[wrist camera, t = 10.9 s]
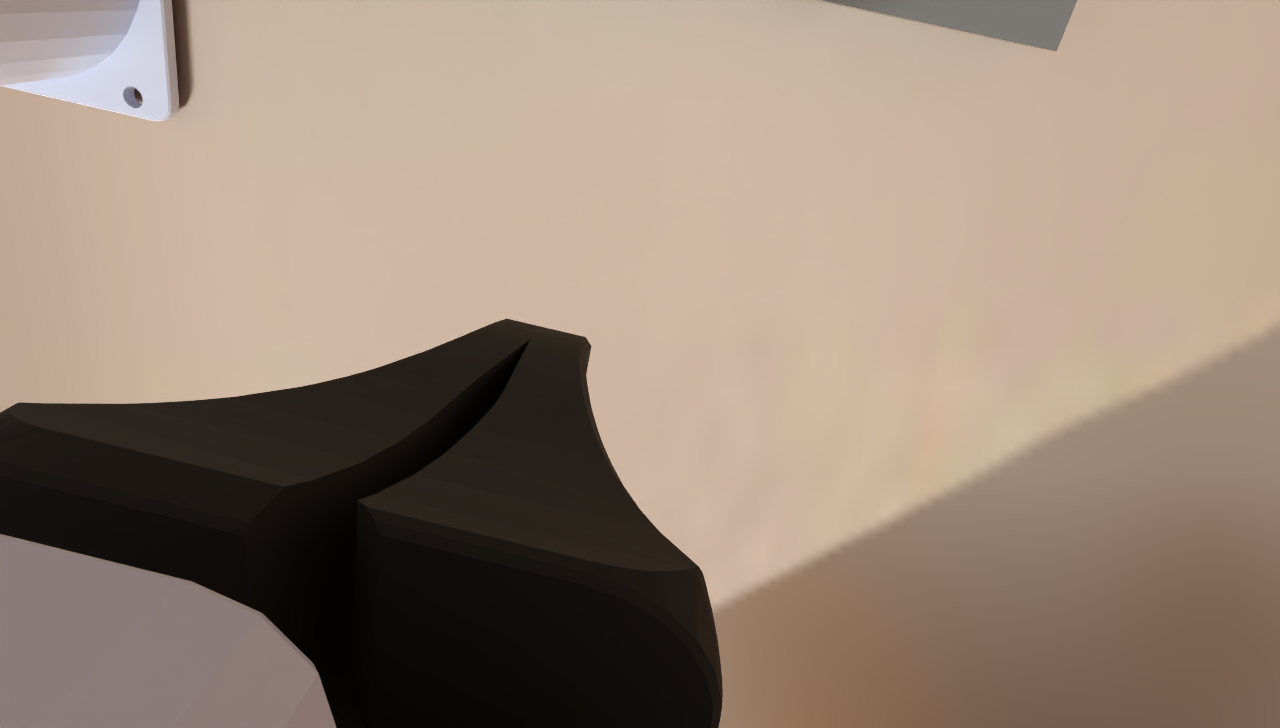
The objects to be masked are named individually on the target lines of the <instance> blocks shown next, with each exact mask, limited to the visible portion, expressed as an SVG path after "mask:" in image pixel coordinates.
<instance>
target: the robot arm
mask: <svg viewBox="0 0 1280 728" xmlns="http://www.w3.org/2000/svg"><path fill="white" fill-rule="evenodd" d="M0 86H3V87H7V88H12V89H16V90H20V91H25V92H29V93H34V94H38V95H42V96H47V97H51V98H55V99H60V100H64V101H69V102H73V103H77V104H82V105H86V106H90V107H95V108H99V109H104V110H108V111H112V112H117V113H121V114H125V115H130V116H134V117H139V118H143V119H147V120H152V121H165V120H169V119H171V118H173V117H175V116H176V114H177V113H178V110H179V94H178V81H177V67H176V53H175V39H174V25H173V12H172V0H0ZM135 88H136V89H137V90H138V91H139V92H140V93H141V95H142V98H143V102H142V104H140V103H139V102H138V101H137V100H136V98H135V95H134V90H135ZM590 350H591V345H590V343H589V342H588V340H587V339H586V337H582V336H578V335H574V334H570V333H565V332H561V331H557V330H552V329H548V328H544V327H540V326H535V325H531V324H527V323H522V322H518V321H514V320H510V319H505V320H501V321H498V322H495V323H493V324H490V325H488V326H485V327H483V328H481V329H478V330H476V331H473V332H471V333H469V334H466V335H464V336H462V337H459V338H457V339H454V340H452V341H449V342H447V343H445V344H442V345H440V346H437V347H435V348H432V349H430V350H427V351H425V352H422V353H419V354H416V355H413V356H410V357H407V358H405V359H402V360H399V361H396V362H393V363H390V364H387V365H384V366H381V367H379V368H376V369H372V370H369V371H366V372H362V373H358V374H355V375H351V376H347V377H343V378H339V379H335V380H330V381H326V382H322V383H317V384H313V385H308V386H303V387H297V388H291V389H284V390H277V391H271V392H264V393H258V394H251V395H244V396H238V397H229V398H219V399H207V400H196V401H181V402H163V403H140V404H43V403H17V404H15V405H13V406H11V407H10V408H8V409H6V410H4V411H3V412H1V413H0V728H718V727H719V722H720V717H721V709H722V674H721V664H720V655H719V647H718V640H717V635H716V628H715V623H714V618H713V613H712V608H711V604H710V600H709V596H708V591H707V587H706V583H705V580H704V576H703V573H702V571H701V570H700V568H699V566H697V565H696V564H695V563H694V562H693V561H692V560H691V559H690V558H688V557H687V556H686V555H685V554H684V553H683V552H682V551H680V550H679V549H678V548H677V547H676V546H675V545H674V544H673V543H671V542H670V541H669V540H668V539H667V538H666V537H665V536H664V535H662V534H661V533H660V532H659V531H658V529H657V528H656V527H655V526H654V525H653V524H652V523H651V522H650V521H649V519H648V518H647V517H646V516H645V515H644V514H643V513H642V511H641V510H640V509H639V508H638V506H637V505H636V503H635V502H634V500H633V499H632V497H631V496H630V495H629V493H628V492H627V490H626V489H625V487H624V486H623V484H622V482H621V481H620V479H619V477H618V475H617V473H616V471H615V469H614V468H613V466H612V464H611V461H610V459H609V457H608V455H607V453H606V450H605V448H604V446H603V443H602V441H601V438H600V435H599V432H598V429H597V426H596V422H595V419H594V416H593V412H592V408H591V404H590V398H589V392H588V386H587V379H586V372H587V367H588V361H589V356H590Z"/></svg>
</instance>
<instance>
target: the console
mask: <svg viewBox="0 0 1280 728" xmlns="http://www.w3.org/2000/svg"><path fill="white" fill-rule="evenodd" d="M819 1H824V2H829V3H833V4H838V5H842V6H847V7H852V8H856V9H861V10H865V11H870V12H875V13H879V14H884V15H888V16H893V17H898V18H902V19H907V20H911V21H916V22H921V23H925V24H930V25H934V26H939V27H944V28H948V29H953V30H957V31H962V32H967V33H971V34H976V35H980V36H985V37H990V38H994V39H999V40H1003V41H1008V42H1013V43H1017V44H1022V45H1026V46H1032V47H1037V48H1042V49H1047V50H1053V51H1057V49H1058V46H1059V44H1060V41H1061V39H1062V36H1063V34H1064V31H1065V29H1066V26H1067V24H1068V22H1069V19H1070V17H1071V14H1072V12H1073V9H1074V7H1075V4H1076V2H1077V0H819Z"/></svg>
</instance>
